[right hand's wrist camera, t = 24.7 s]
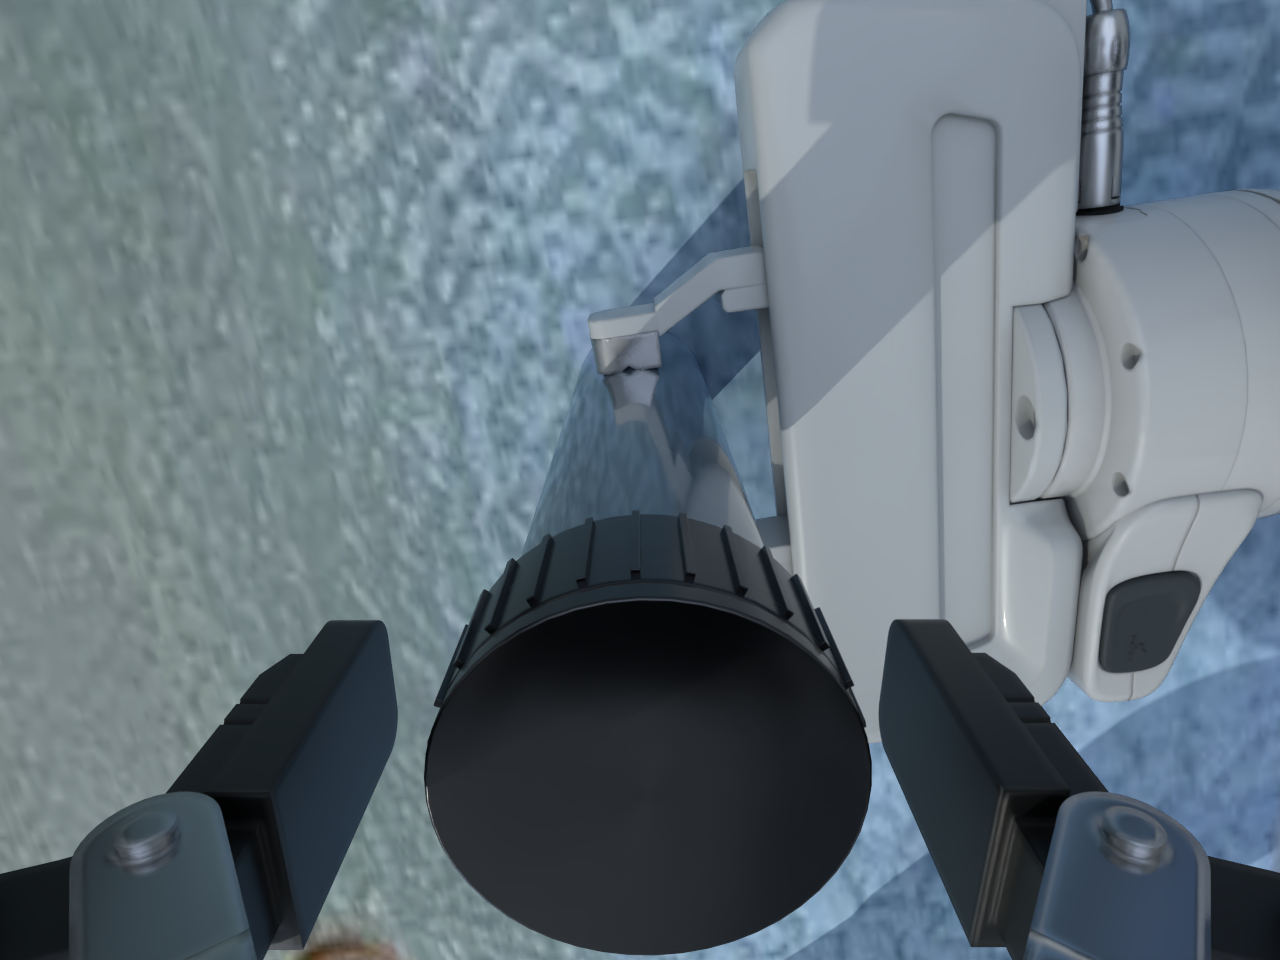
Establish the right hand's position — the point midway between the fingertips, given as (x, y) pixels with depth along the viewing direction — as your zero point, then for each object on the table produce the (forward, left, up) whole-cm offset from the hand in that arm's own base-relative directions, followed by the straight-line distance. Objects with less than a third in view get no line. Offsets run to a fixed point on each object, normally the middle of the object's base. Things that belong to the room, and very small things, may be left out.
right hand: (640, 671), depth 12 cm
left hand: (0, -1, -11) cm, 11 cm away
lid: (0, 0, +2) cm, 2 cm away
